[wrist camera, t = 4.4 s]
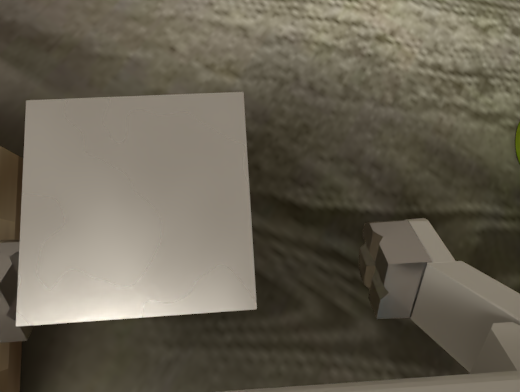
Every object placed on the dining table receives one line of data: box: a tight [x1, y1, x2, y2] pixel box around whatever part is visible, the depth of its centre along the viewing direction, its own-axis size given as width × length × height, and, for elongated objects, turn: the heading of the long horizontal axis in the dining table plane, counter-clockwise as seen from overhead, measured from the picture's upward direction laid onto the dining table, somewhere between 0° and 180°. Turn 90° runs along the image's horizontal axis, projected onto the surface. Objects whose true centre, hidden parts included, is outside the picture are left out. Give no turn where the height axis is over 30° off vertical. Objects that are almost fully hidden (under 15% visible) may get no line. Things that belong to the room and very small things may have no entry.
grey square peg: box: [16, 92, 257, 327], centre depth 13 cm, size 4×4×12 cm
